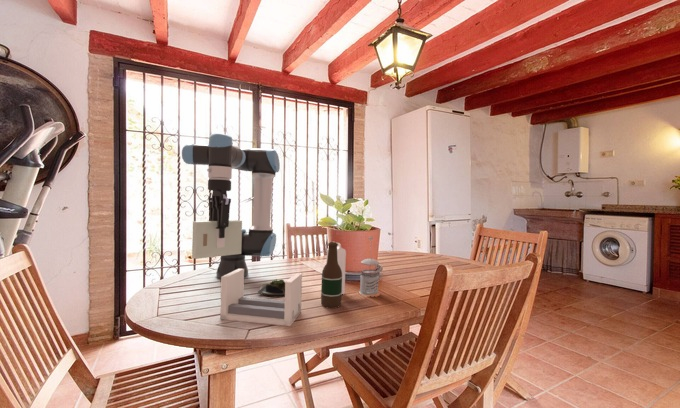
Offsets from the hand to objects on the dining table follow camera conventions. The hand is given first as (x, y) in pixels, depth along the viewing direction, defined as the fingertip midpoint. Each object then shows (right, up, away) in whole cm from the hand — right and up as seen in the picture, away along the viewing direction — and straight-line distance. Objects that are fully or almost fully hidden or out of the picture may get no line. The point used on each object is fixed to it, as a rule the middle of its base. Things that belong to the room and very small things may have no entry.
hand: (218, 246), depth 107 cm
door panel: (0, -3, 0) cm, 3 cm away
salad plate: (+16, -23, +25) cm, 38 cm away
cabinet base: (+16, -23, -2) cm, 28 cm away
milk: (+40, -24, +25) cm, 53 cm away
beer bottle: (+39, -24, +11) cm, 47 cm away
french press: (+56, -24, +26) cm, 66 cm away
